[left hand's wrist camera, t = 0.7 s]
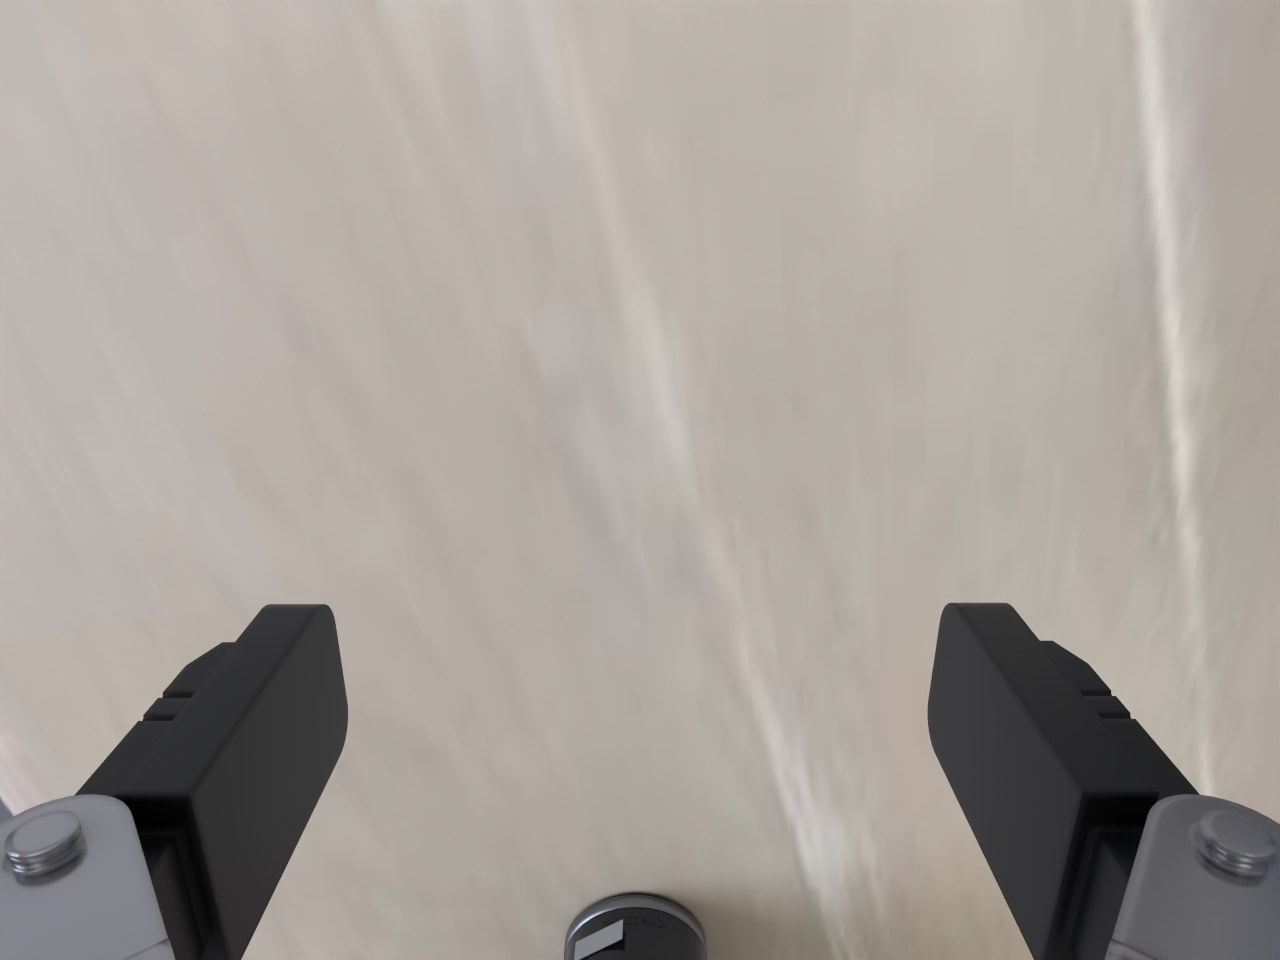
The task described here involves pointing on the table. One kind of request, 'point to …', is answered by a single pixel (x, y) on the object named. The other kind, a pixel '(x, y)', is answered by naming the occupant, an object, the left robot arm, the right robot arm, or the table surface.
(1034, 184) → the table surface
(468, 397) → the table surface
